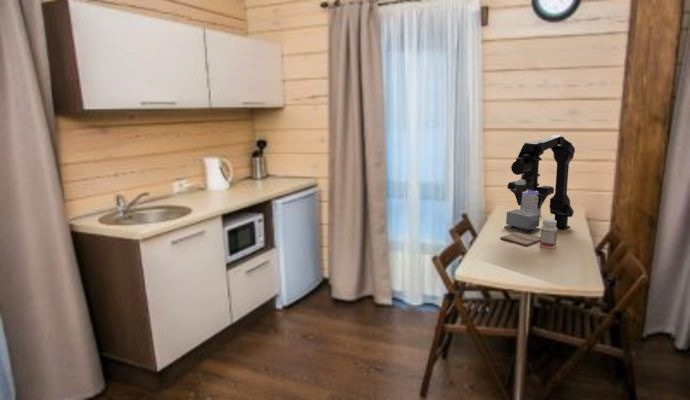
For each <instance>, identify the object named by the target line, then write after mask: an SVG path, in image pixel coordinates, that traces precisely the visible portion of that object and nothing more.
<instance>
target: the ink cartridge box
mask: <svg viewBox="0 0 690 400" xmlns="http://www.w3.org/2000/svg"><path fill="white" fill-rule="evenodd" d="M533 189H534V188H533ZM537 194H539V193H538V191H533V190H527V191H525V192H523V193H522V200H521V205H520V209H519V210H523V211H528V212H533V213H538V214H540V217H541V216H542V207H541V208H540V209H538V196H537Z"/></svg>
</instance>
